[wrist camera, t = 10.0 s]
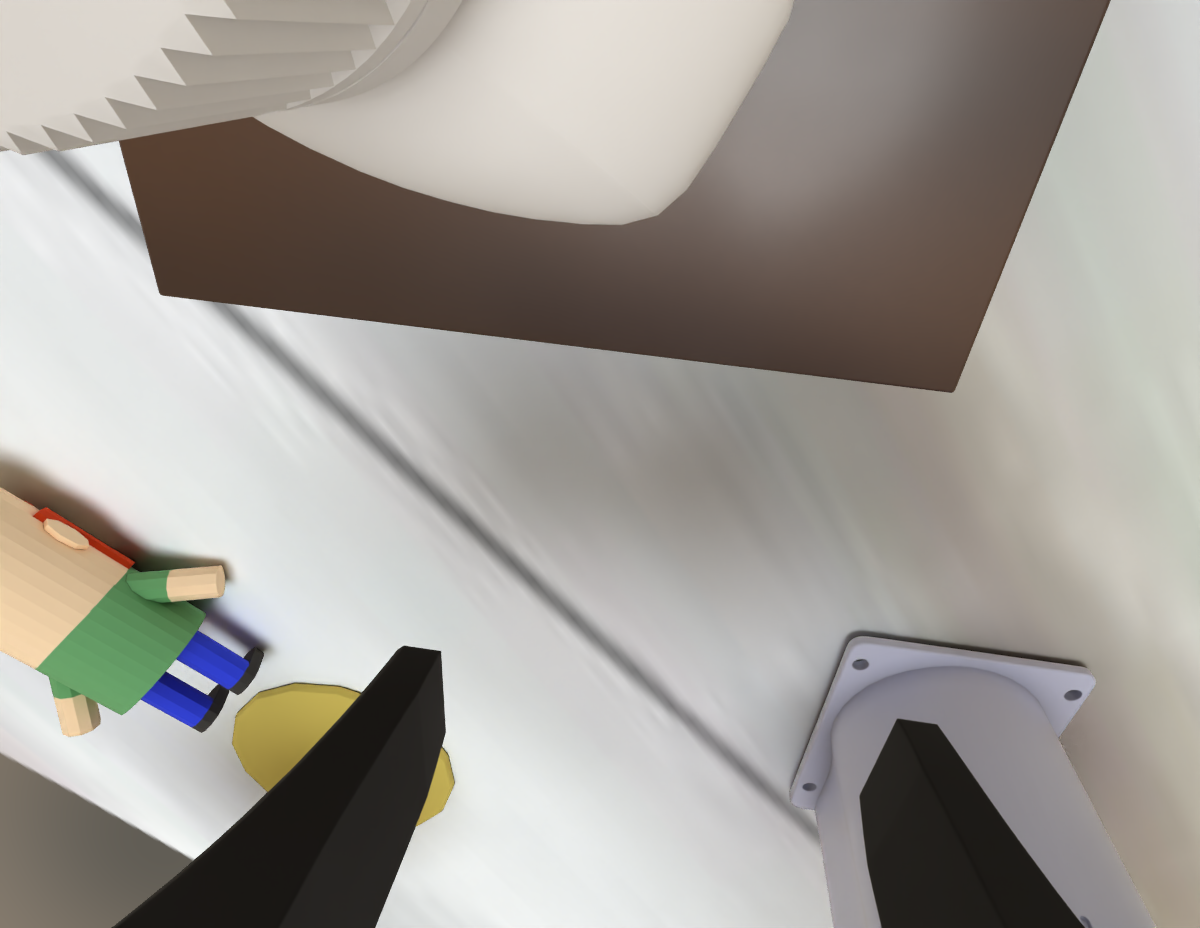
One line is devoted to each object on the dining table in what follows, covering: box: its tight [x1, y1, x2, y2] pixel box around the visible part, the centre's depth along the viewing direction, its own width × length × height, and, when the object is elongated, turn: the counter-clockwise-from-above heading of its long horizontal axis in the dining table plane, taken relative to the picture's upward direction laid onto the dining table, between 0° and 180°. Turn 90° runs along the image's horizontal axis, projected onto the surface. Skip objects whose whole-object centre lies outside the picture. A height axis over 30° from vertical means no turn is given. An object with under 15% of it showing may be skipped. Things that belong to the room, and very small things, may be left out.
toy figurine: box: [0, 488, 264, 737], centre depth 24 cm, size 8×4×12 cm
